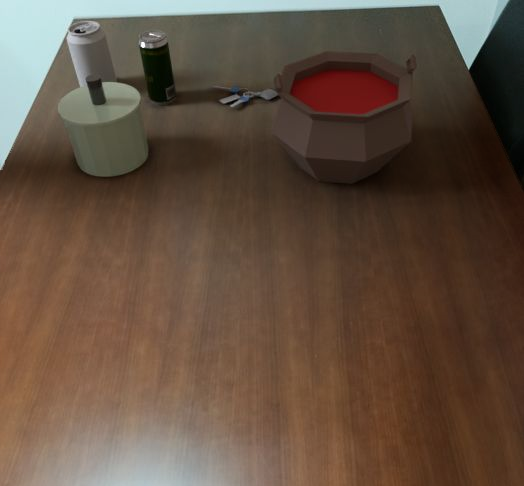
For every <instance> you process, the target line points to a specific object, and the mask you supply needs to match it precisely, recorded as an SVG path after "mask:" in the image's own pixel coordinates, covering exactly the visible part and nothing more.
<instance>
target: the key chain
mask: <svg viewBox="0 0 524 486" xmlns="http://www.w3.org/2000/svg"><path fill="white" fill-rule="evenodd" d="M211 87H212V88H216V89H223V90H229V92H231V93H235V94H233V95H230V96H227V97H224V98H221V99H219V100H218V101H219V102H220V103H222V104H223V105H224V104H227V103H230V102H232V101H235V102H234V103H233V104H231V105H230V107H231V108H235V107H237V106H238V105H240V104H242V103H247V102H249V101H250V99H252V98H255V97H258V98H263V99H264V100H267V101H268V100H269V101H270V100H271V99H273V98H275V97H278V96H279V95H278V93H277V92H276V91H275V89H274V90H273V89H271V88H266V89H264V90H262V91H257V92H256V91H250V90H249V89H248V88H245V87H241V88H240V87H238V86H233V87H227V86H226V87H225V86H219V85H212V86H211ZM243 89H244V90H247V91H245V92H243V94H242V97H241V96H240V95H239V94H238V92H240V91H241V90H243ZM236 100H237V101H236Z"/></svg>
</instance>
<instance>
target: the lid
mask: <svg viewBox="0 0 524 486" xmlns="http://www.w3.org/2000/svg"><path fill="white" fill-rule="evenodd" d="M85 80H86V83H87V85H86V86H83V87H80V86H79V87H77V88H75V89H73V90H71V91H69V92H68V93H67V94H65V95H64V96H63V97H62V98H61V99H60V100H59V102H58V104H57V112H58V116H60V118H61V119H62V120H63V121H64V120H65V121H66V122H68V123H71V124H74V125H79V126H101V125H107V124H111V123H115V122H118V121H120V120H123V119H125V118H127V117H128V116H130V115H131V114H133V113H134V112H135V111H136V110H137V109H138V108H139V106H140V107H141V104H142V97H141V94H140V92H139V91H138V89H137V88H135V86H131V85H129V84H127V83H123V82H118V81H117V82H102V81H101V77H100V76H99V75H97V74H93V75H89V76H87V77H86V79H85Z"/></svg>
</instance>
